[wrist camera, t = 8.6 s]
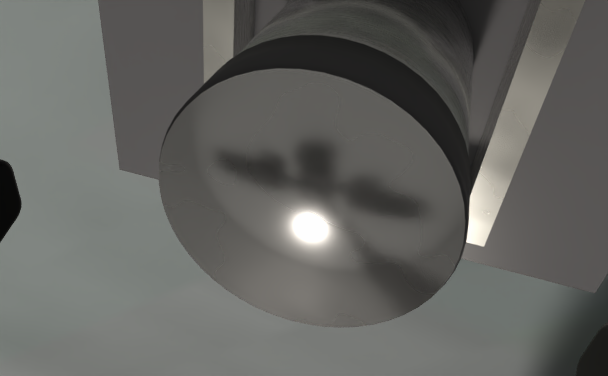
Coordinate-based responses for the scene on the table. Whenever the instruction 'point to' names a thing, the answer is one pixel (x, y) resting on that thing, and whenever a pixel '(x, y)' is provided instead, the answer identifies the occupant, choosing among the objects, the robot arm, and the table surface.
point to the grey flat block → (483, 118)
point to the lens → (330, 161)
